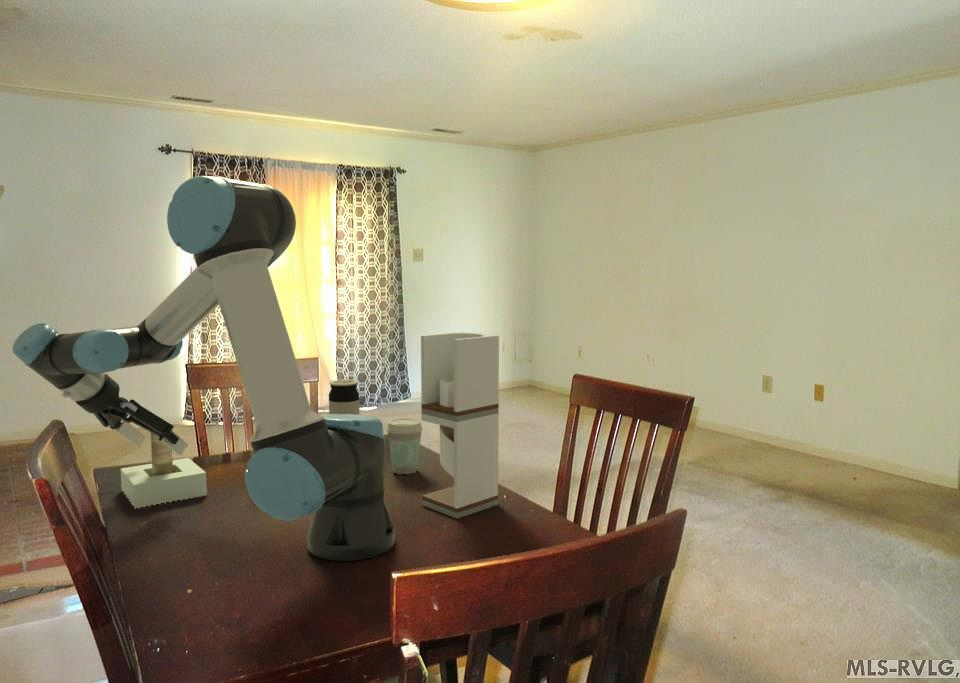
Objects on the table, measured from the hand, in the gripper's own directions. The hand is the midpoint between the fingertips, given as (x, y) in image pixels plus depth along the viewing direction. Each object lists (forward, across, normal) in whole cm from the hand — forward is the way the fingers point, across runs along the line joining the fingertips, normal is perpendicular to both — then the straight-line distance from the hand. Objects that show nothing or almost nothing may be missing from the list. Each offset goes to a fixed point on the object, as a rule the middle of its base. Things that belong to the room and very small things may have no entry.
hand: (162, 445), depth 149 cm
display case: (+25, +60, +10) cm, 65 cm away
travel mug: (+41, +10, +26) cm, 50 cm away
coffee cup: (+35, +36, +19) cm, 54 cm away
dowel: (+7, 0, -7) cm, 10 cm away
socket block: (+7, 0, -8) cm, 10 cm away
